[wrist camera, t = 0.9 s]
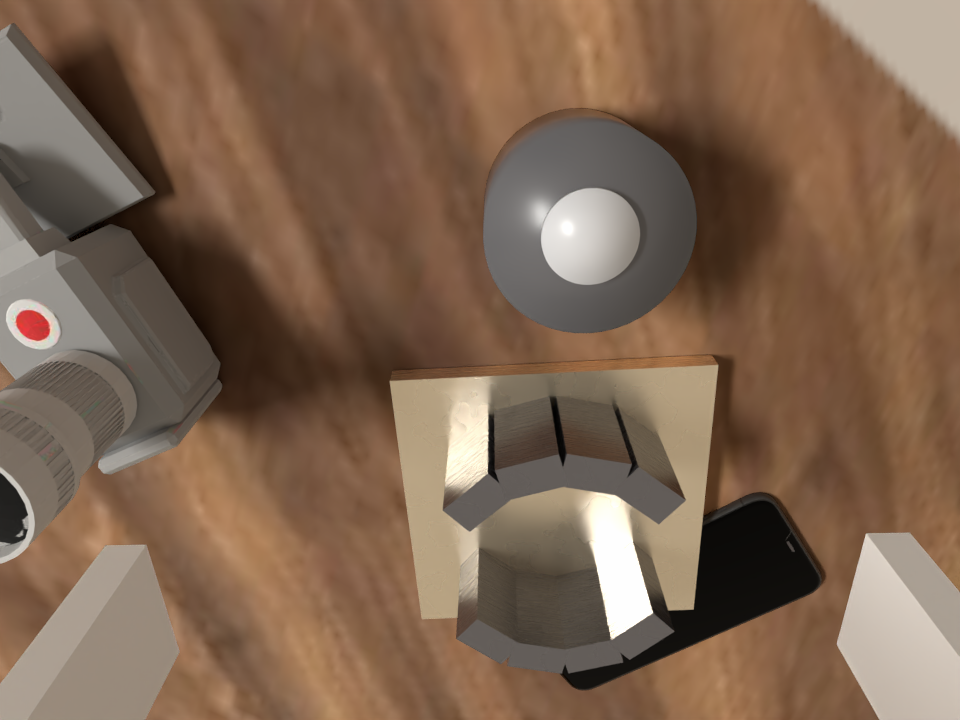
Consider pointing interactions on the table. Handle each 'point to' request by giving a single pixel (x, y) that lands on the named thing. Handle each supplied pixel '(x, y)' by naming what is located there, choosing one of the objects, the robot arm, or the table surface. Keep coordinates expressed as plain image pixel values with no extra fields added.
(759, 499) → the smartphone
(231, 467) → the table surface
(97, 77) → the table surface
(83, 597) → the robot arm
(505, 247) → the dark grey rounded knob
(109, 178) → the camera
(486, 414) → the plate with grey arcs
